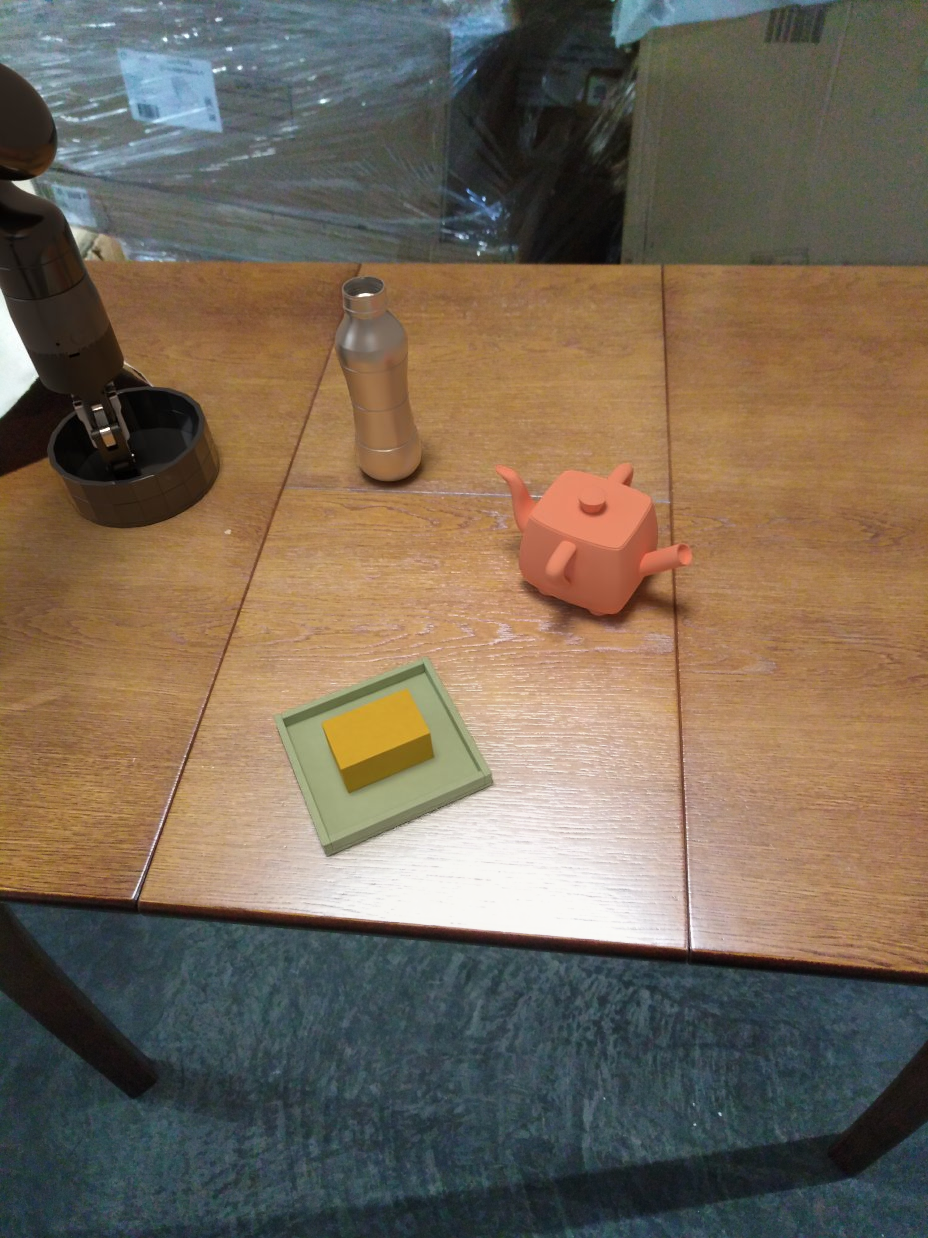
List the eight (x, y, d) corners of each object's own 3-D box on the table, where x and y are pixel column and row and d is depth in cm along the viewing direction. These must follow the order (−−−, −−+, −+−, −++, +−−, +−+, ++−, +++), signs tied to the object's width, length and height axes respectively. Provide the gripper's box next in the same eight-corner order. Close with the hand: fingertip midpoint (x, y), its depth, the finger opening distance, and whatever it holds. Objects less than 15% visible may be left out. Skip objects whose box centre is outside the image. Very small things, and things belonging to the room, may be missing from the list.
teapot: (647, 521, 84) (659, 435, 76) (684, 617, 76) (702, 532, 68) (497, 542, 83) (493, 458, 75) (520, 641, 76) (518, 559, 68)
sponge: (348, 793, 67) (340, 769, 64) (328, 747, 69) (320, 722, 67) (434, 757, 68) (430, 732, 66) (411, 713, 71) (407, 687, 68)
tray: (326, 857, 64) (322, 846, 63) (277, 727, 71) (273, 716, 70) (492, 784, 67) (492, 773, 66) (429, 667, 74) (427, 655, 73)
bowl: (82, 547, 86) (59, 505, 82) (59, 455, 95) (38, 413, 91) (235, 496, 89) (221, 453, 85) (199, 413, 98) (184, 370, 94)
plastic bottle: (417, 492, 88) (395, 309, 73) (351, 487, 89) (315, 305, 74) (429, 449, 92) (410, 267, 77) (365, 445, 93) (334, 265, 78)
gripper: (11, 299, 82) (80, 446, 95) (31, 381, 73) (104, 530, 86) (93, 278, 83) (150, 425, 96) (122, 355, 75) (180, 506, 88)
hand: (128, 474), depth 91 cm, fingers open, 5 cm apart
